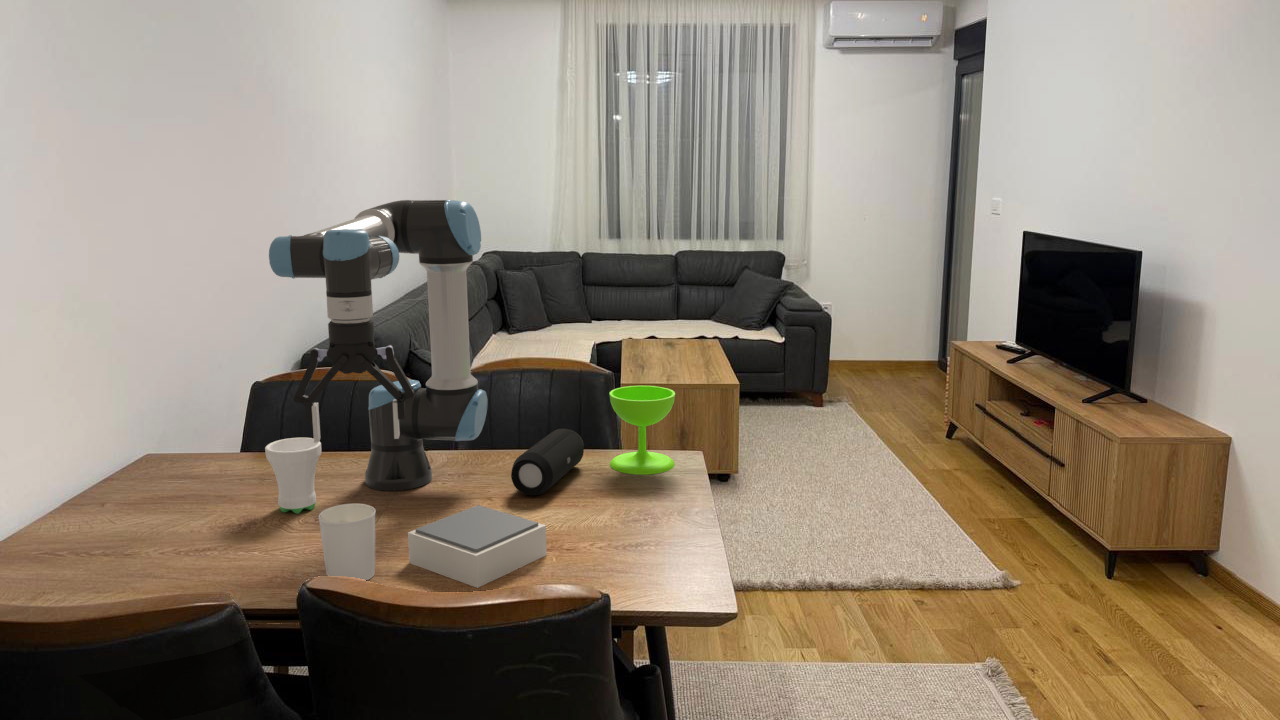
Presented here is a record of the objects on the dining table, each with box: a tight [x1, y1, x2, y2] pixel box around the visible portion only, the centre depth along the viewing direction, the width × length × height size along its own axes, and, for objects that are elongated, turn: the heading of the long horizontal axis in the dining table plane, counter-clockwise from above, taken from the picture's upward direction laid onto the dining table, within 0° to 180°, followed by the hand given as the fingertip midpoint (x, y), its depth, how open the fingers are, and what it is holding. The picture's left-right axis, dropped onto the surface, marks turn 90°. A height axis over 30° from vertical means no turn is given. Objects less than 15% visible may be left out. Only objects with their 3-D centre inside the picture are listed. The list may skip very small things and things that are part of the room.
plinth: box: [407, 504, 548, 589], centre depth 184 cm, size 18×18×7 cm
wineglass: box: [609, 385, 676, 476], centre depth 239 cm, size 16×16×18 cm
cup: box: [264, 437, 322, 515], centre depth 209 cm, size 11×11×14 cm
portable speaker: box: [510, 428, 585, 496], centre depth 228 cm, size 26×10×10 cm, turn 164°
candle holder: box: [317, 502, 377, 581], centre depth 176 cm, size 10×10×12 cm
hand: (357, 438), depth 173 cm, fingers open, 13 cm apart
